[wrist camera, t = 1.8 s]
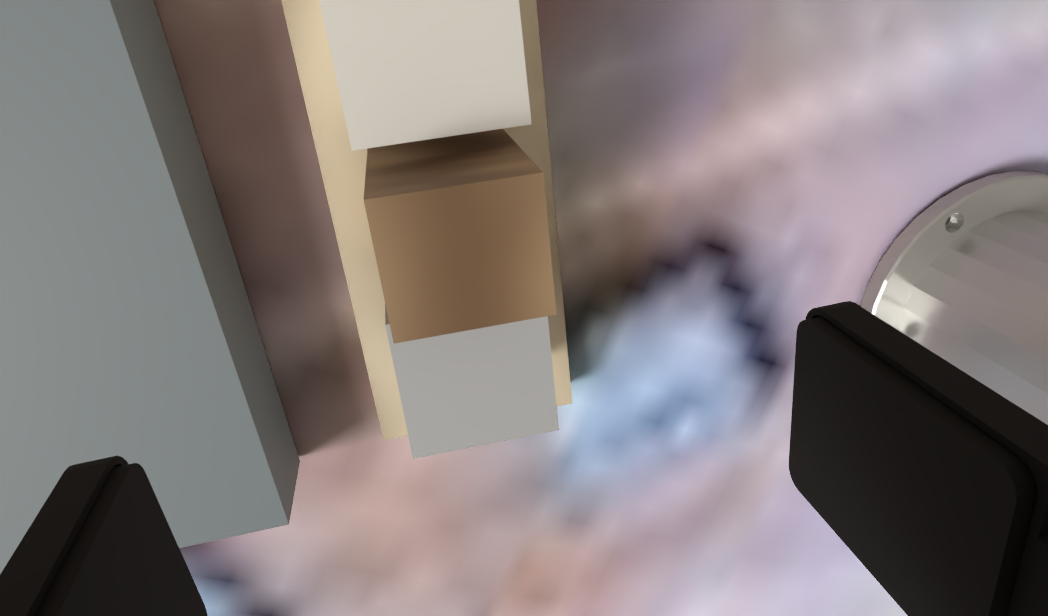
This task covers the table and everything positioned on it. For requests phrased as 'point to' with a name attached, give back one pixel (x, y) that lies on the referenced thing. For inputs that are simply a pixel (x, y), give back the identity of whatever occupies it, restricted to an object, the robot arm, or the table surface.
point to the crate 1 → (426, 68)
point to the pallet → (354, 210)
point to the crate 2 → (476, 386)
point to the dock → (123, 284)
